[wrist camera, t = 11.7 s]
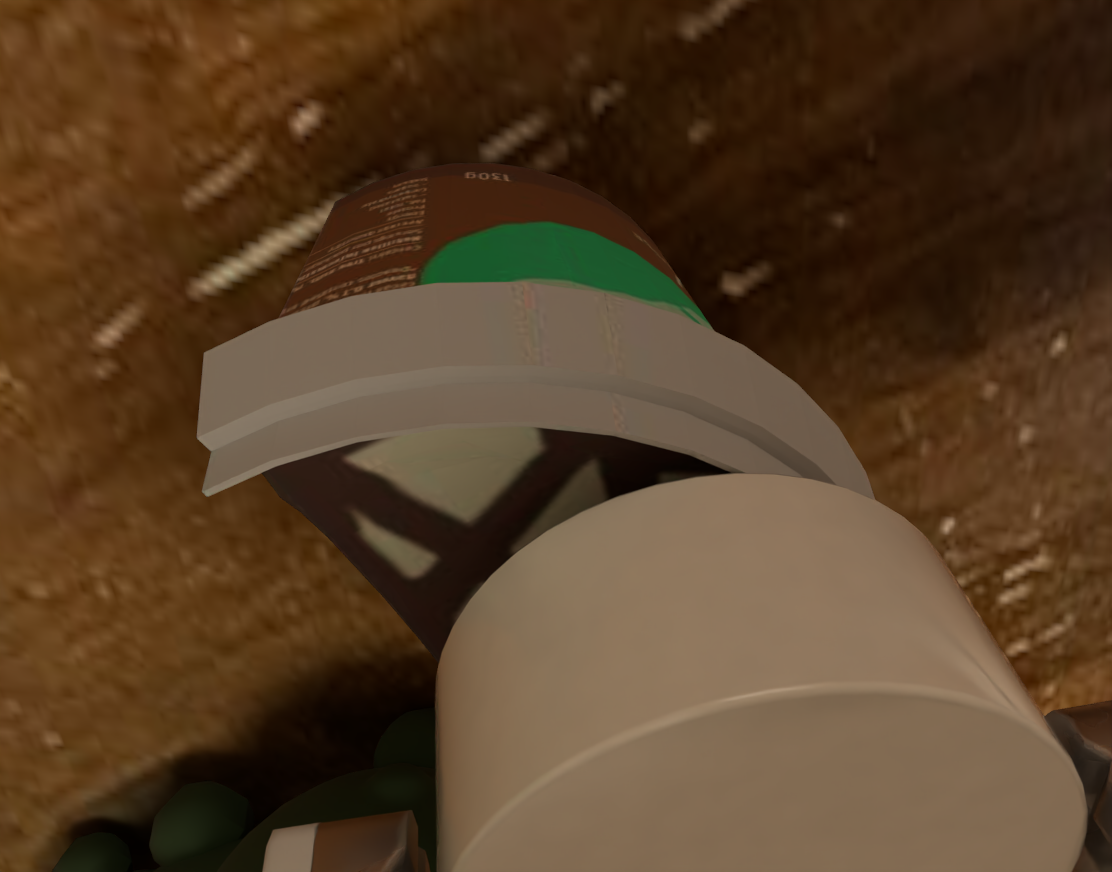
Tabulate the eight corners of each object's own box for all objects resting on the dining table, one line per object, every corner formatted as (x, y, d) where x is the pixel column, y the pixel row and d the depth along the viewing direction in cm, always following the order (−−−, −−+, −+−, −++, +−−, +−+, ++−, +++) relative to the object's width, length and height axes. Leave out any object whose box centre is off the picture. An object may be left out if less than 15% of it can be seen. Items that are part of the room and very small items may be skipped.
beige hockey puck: (997, 429, 10) (1170, 634, 8) (921, 795, 14) (1024, 1010, 12) (386, 517, 10) (375, 755, 8) (475, 865, 14) (485, 1099, 12)
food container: (823, 446, 23) (1038, 820, 15) (595, 556, 24) (680, 957, 16) (581, -51, 16) (733, 136, 8) (285, 135, 18) (163, 457, 10)
